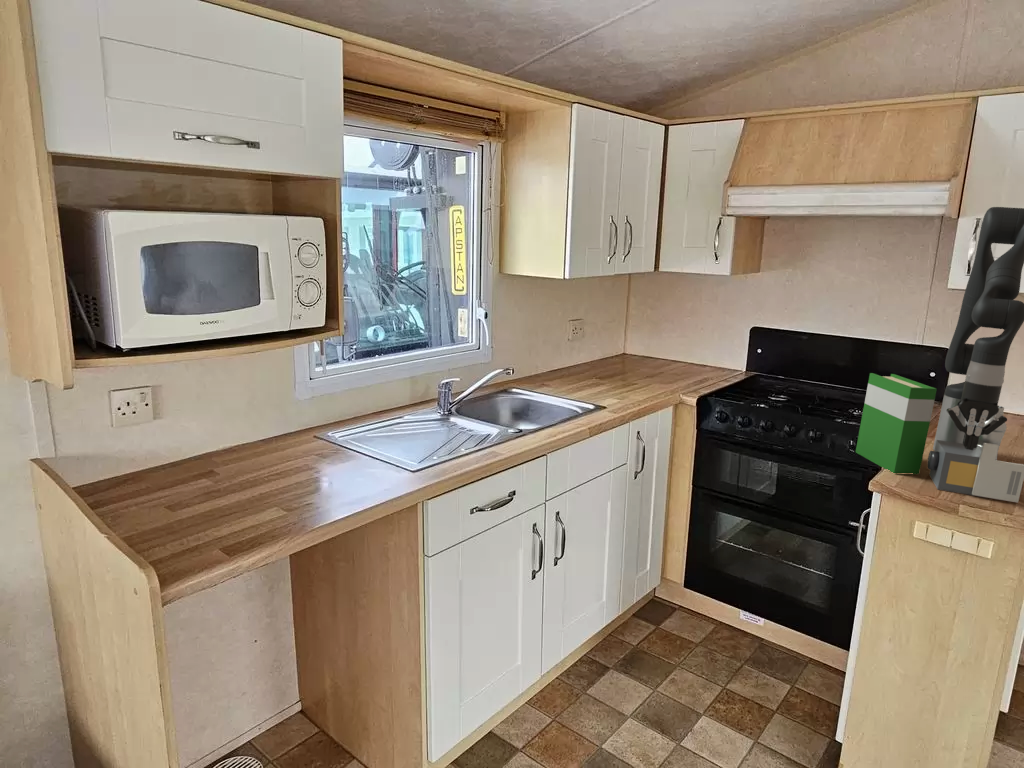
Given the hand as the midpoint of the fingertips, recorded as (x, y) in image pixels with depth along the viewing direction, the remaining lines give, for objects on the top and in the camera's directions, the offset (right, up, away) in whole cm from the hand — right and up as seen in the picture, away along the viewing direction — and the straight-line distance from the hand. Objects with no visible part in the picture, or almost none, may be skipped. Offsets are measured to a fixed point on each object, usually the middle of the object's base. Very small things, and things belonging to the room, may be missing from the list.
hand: (968, 448), depth 170 cm
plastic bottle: (+14, -9, +17) cm, 24 cm away
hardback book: (-7, -6, +24) cm, 26 cm away
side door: (+6, -12, 0) cm, 14 cm away
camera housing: (+2, -10, +9) cm, 14 cm away
